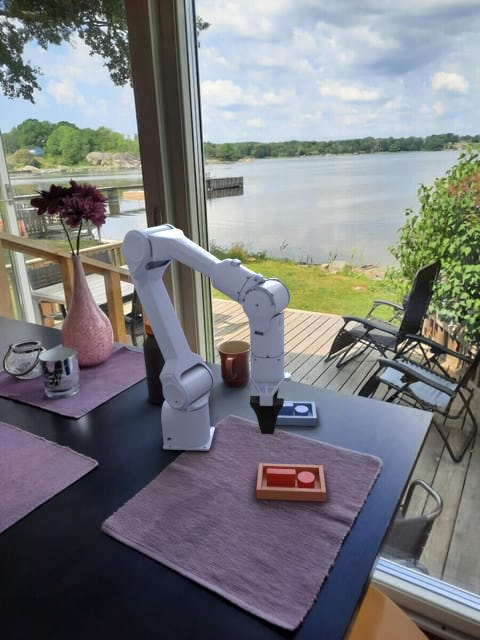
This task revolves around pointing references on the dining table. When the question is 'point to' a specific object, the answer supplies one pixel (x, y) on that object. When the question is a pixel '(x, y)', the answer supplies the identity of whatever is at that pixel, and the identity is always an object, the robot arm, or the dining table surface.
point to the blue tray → (299, 420)
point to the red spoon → (290, 478)
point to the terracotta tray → (289, 491)
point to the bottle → (153, 366)
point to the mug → (234, 363)
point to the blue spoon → (288, 410)
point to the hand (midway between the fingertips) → (268, 420)
